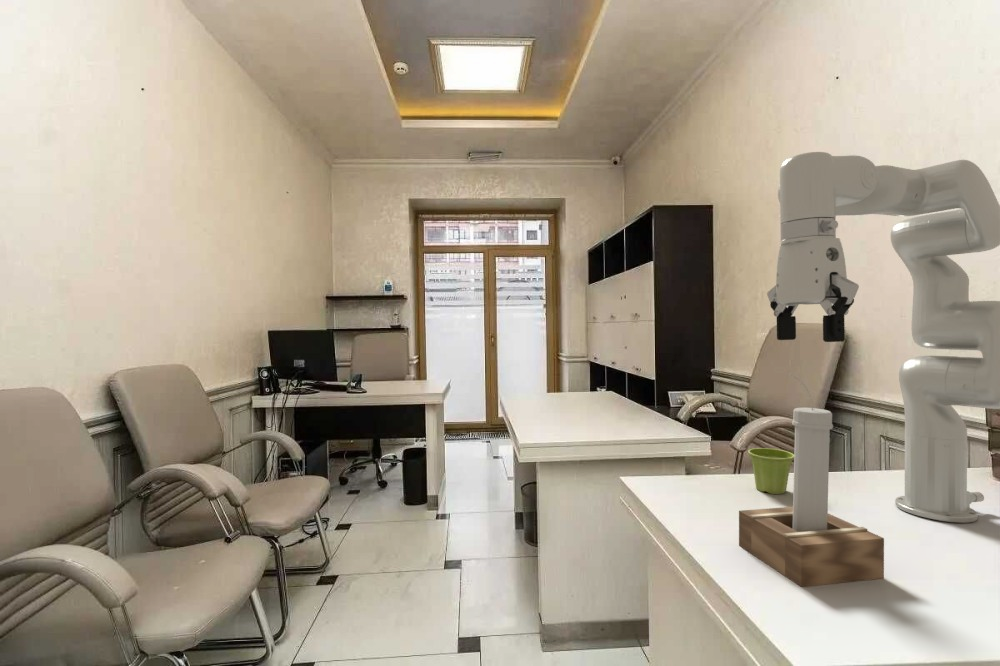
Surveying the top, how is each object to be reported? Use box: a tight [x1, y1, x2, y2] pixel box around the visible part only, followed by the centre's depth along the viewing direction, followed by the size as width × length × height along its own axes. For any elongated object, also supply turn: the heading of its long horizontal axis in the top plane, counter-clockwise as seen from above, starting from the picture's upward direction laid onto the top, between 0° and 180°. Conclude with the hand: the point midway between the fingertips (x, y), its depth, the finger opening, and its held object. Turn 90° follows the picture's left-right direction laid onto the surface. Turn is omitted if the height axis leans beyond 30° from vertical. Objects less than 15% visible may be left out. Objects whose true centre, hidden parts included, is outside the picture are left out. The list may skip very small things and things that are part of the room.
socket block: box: [738, 506, 885, 588], centre depth 80 cm, size 14×14×6 cm
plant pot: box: [747, 447, 794, 495], centre depth 115 cm, size 9×9×9 cm
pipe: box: [789, 373, 834, 532], centre depth 80 cm, size 6×6×30 cm
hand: (808, 340), depth 80 cm, fingers open, 9 cm apart
